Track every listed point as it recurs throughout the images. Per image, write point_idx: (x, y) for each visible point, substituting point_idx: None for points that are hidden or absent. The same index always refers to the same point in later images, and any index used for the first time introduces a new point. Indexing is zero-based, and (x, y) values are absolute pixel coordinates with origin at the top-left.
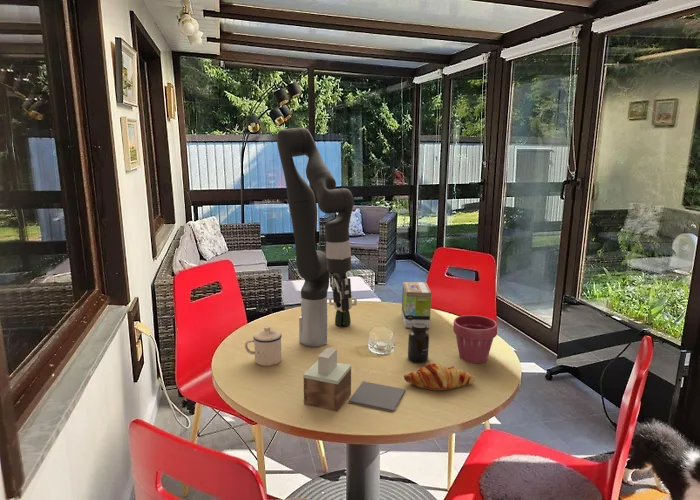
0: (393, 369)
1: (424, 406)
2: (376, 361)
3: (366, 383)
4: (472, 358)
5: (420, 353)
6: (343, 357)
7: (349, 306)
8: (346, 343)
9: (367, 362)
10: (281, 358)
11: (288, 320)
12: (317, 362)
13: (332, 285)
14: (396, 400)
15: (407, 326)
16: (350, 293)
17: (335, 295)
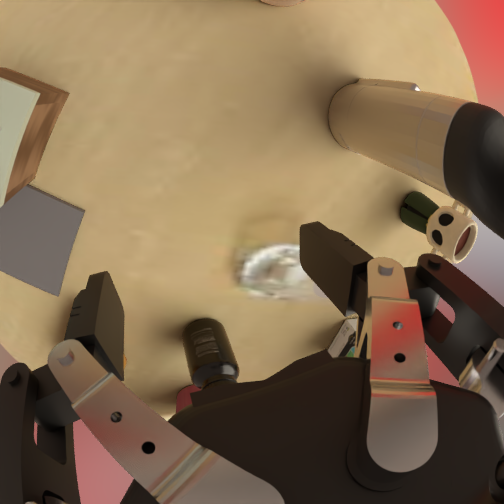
0: (155, 286)
1: (18, 312)
2: (203, 254)
3: (72, 220)
4: (178, 399)
5: (185, 351)
6: (244, 173)
7: (431, 242)
8: (325, 195)
9: (201, 233)
10: (271, 4)
11: None
12: (16, 92)
13: (372, 314)
14: (15, 273)
15: (344, 324)
16: (40, 443)
17: (330, 261)
